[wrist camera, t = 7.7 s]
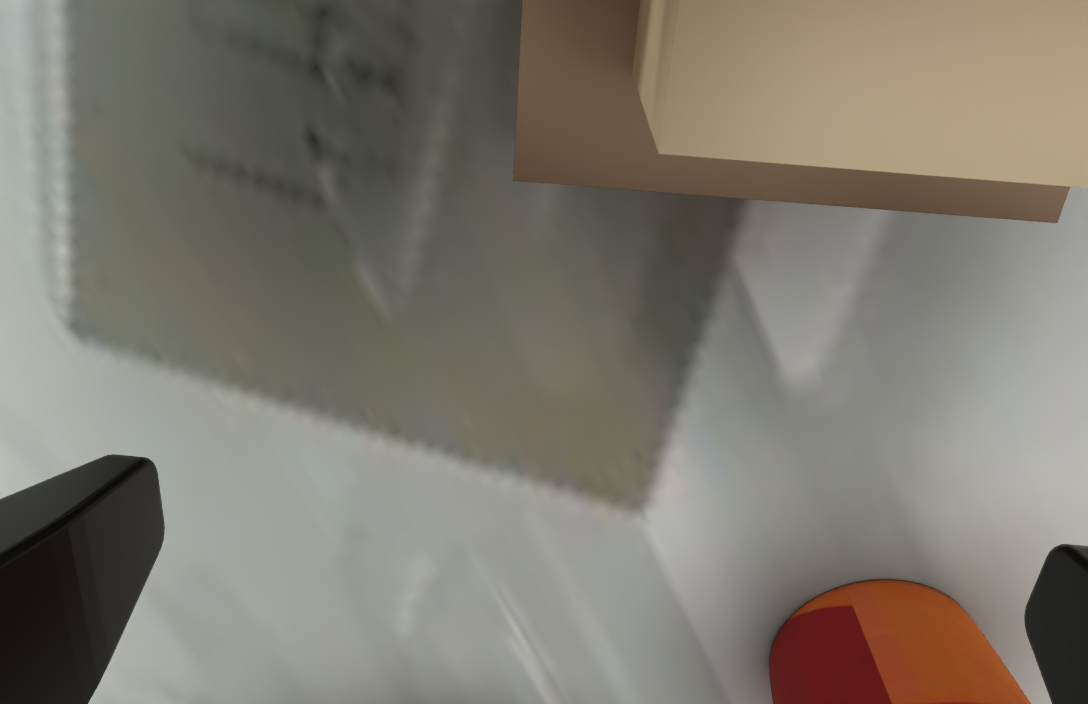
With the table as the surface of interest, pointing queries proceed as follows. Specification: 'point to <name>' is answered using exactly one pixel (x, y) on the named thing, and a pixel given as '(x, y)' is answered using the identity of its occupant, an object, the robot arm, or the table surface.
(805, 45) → the oak cube
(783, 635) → the coffee cup
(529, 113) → the walnut base
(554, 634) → the table surface
